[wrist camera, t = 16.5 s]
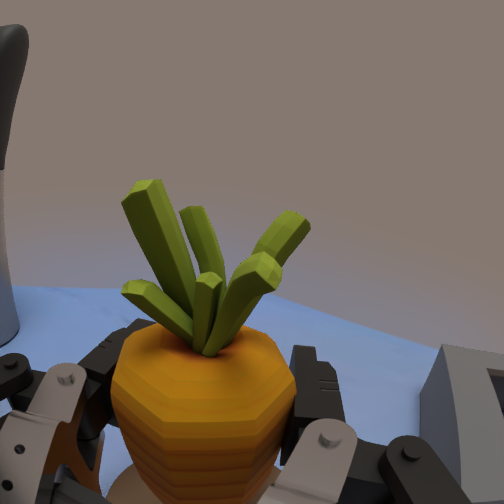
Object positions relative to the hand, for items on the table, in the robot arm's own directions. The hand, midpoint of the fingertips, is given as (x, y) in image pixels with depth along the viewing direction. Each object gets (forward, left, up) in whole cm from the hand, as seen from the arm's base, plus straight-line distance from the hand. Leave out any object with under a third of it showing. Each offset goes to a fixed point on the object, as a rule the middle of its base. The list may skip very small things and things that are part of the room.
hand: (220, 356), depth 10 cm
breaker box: (+21, +8, -10) cm, 24 cm away
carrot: (+1, -3, -9) cm, 10 cm away
